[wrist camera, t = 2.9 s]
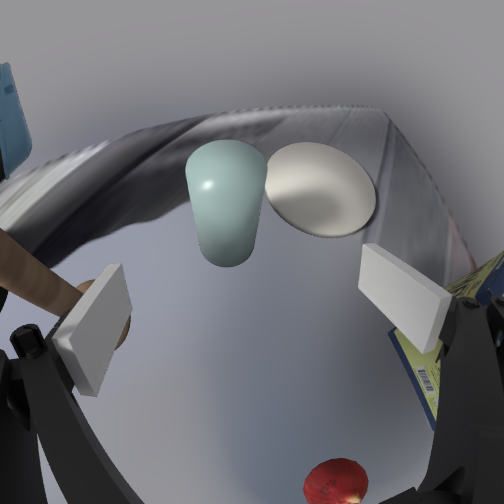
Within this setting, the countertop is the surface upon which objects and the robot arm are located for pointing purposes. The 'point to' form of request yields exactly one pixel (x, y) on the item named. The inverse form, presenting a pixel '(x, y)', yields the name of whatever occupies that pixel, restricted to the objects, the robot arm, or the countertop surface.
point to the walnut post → (39, 281)
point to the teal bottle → (226, 199)
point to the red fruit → (336, 483)
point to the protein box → (423, 365)
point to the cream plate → (319, 190)
